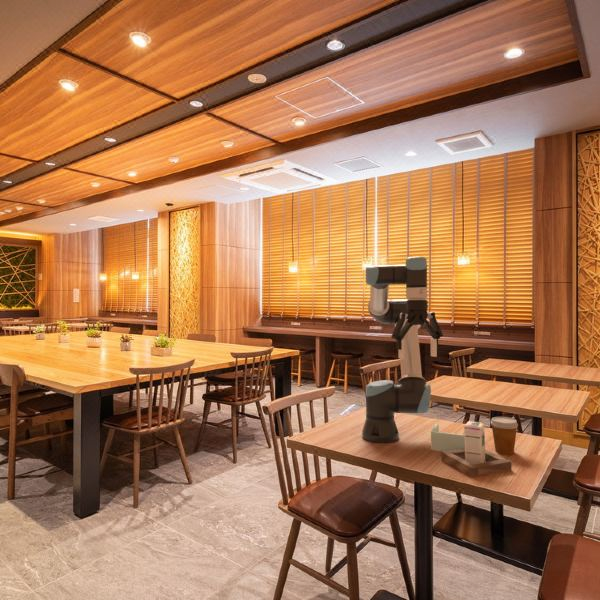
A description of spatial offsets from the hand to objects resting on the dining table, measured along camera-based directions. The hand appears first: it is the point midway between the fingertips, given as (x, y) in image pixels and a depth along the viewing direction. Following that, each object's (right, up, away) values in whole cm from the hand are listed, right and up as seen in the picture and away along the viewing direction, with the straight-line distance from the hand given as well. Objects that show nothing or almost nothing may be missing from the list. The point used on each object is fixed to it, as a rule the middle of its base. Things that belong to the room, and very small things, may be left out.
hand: (417, 357), depth 160 cm
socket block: (+18, -36, -8) cm, 41 cm away
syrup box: (+18, -37, -8) cm, 41 cm away
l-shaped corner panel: (+15, -37, +11) cm, 42 cm away
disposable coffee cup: (+34, -36, +5) cm, 50 cm away
